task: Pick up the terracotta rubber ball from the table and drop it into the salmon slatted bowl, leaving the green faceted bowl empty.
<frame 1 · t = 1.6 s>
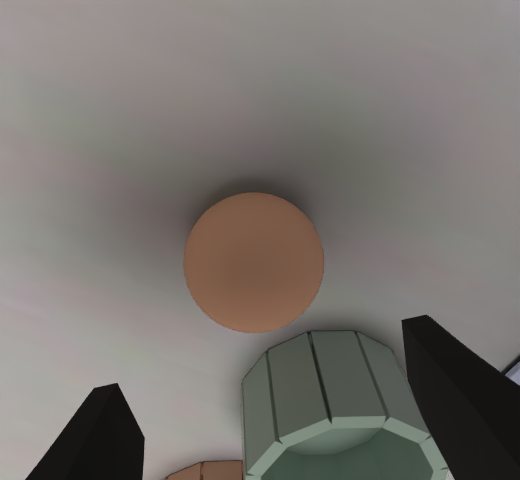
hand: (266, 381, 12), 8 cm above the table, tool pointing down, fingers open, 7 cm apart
ball: (253, 262, 17), point 2 cm above the table
green faceted bowl: (323, 396, 24), on the table
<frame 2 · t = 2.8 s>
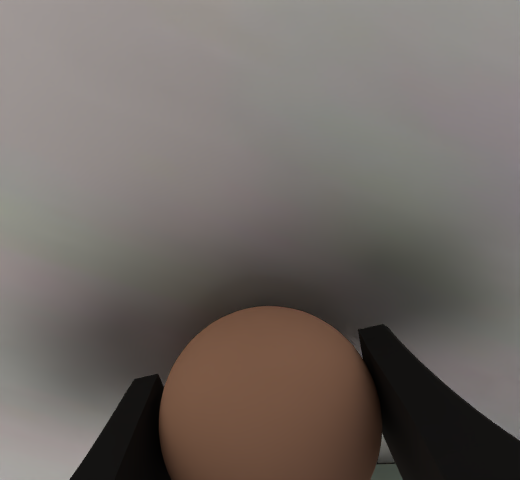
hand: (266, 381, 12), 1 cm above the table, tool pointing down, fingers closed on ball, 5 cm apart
ball: (269, 415, 11), point 2 cm above the table, touching gripper
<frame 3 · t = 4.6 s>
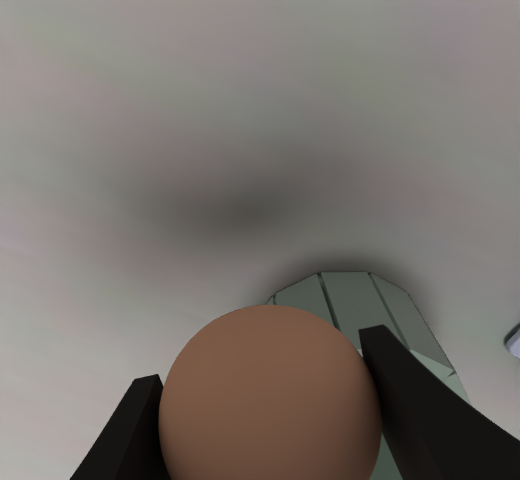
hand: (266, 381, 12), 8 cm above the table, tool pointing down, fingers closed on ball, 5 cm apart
ball: (269, 414, 11), point 9 cm above the table, touching gripper
green faceted bowl: (334, 346, 22), on the table
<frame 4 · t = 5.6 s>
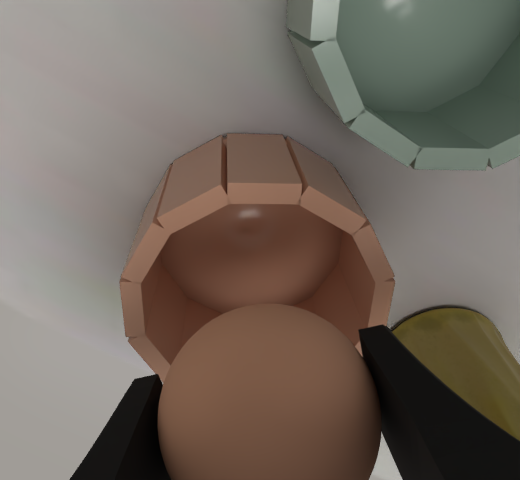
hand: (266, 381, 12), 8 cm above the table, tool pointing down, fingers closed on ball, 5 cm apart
ball: (268, 413, 11), point 9 cm above the table, touching gripper
vase: (433, 354, 23), on the table
salmon slatted bowl: (251, 235, 19), on the table
when the fingers open (7 cm above the table, at t = 6.3 s): ball drops 5 cm, resting on salmon slatted bowl.
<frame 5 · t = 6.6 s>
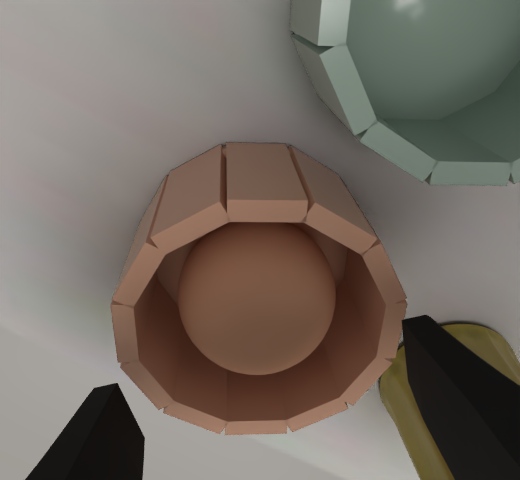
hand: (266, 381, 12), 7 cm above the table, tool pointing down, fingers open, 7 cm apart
ball: (256, 293, 15), point 3 cm above the table, touching salmon slatted bowl
vase: (442, 371, 22), on the table
salmon slatted bowl: (252, 249, 18), on the table
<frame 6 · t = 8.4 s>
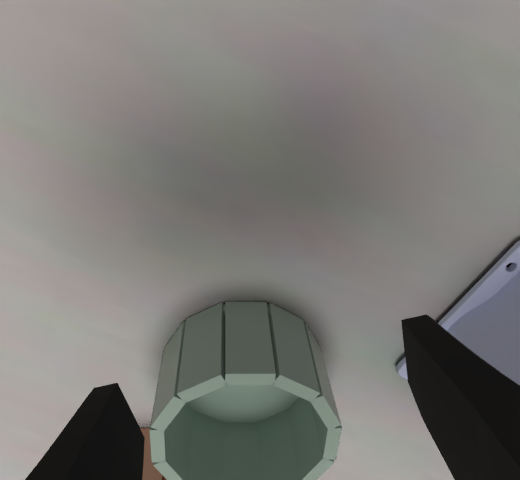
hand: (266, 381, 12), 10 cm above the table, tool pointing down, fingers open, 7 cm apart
green faceted bowl: (242, 365, 25), on the table
salmon slatted bowl: (153, 476, 29), on the table
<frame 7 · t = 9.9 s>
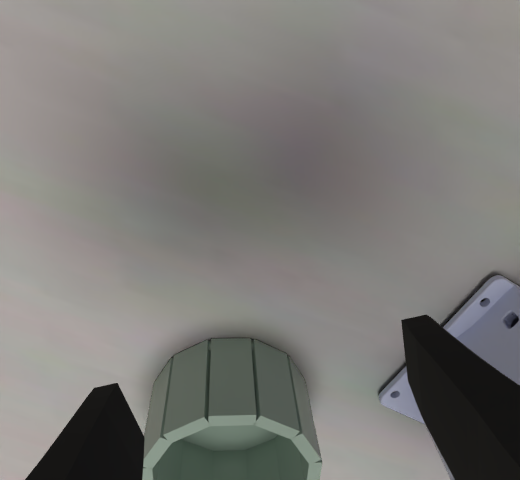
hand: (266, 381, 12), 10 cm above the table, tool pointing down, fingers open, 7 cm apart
green faceted bowl: (230, 397, 26), on the table
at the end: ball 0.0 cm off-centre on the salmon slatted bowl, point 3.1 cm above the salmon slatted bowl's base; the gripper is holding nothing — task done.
